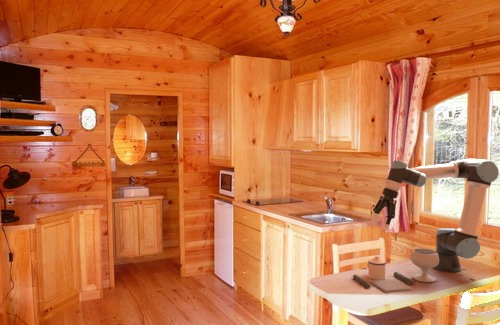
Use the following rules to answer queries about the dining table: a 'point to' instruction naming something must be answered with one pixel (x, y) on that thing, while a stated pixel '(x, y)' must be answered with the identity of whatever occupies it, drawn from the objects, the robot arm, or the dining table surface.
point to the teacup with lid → (376, 268)
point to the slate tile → (390, 285)
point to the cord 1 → (361, 281)
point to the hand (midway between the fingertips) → (378, 227)
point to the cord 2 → (403, 278)
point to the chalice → (424, 263)
